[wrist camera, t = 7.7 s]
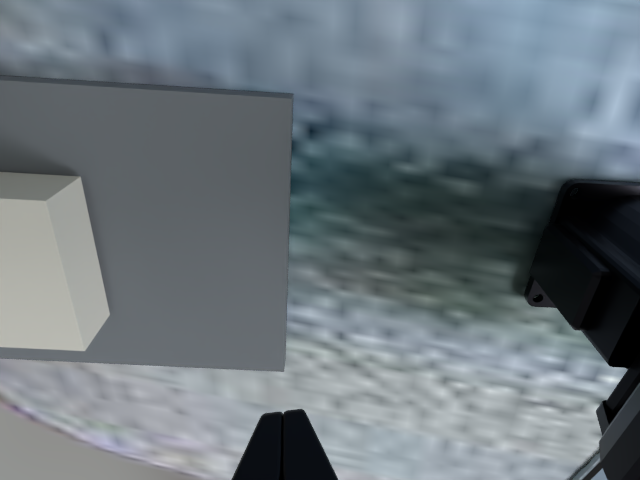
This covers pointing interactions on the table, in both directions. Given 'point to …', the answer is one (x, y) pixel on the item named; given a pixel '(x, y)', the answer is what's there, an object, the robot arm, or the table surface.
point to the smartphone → (591, 471)
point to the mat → (169, 213)
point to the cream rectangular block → (48, 264)
